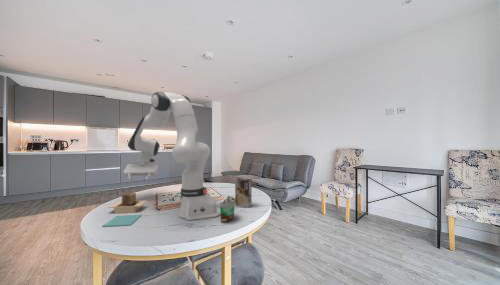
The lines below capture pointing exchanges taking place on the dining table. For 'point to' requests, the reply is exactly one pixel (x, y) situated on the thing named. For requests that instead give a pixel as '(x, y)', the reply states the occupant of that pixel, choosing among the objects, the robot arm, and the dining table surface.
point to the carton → (127, 207)
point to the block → (129, 199)
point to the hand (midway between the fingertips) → (137, 180)
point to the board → (122, 220)
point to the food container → (227, 209)
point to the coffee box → (243, 192)
